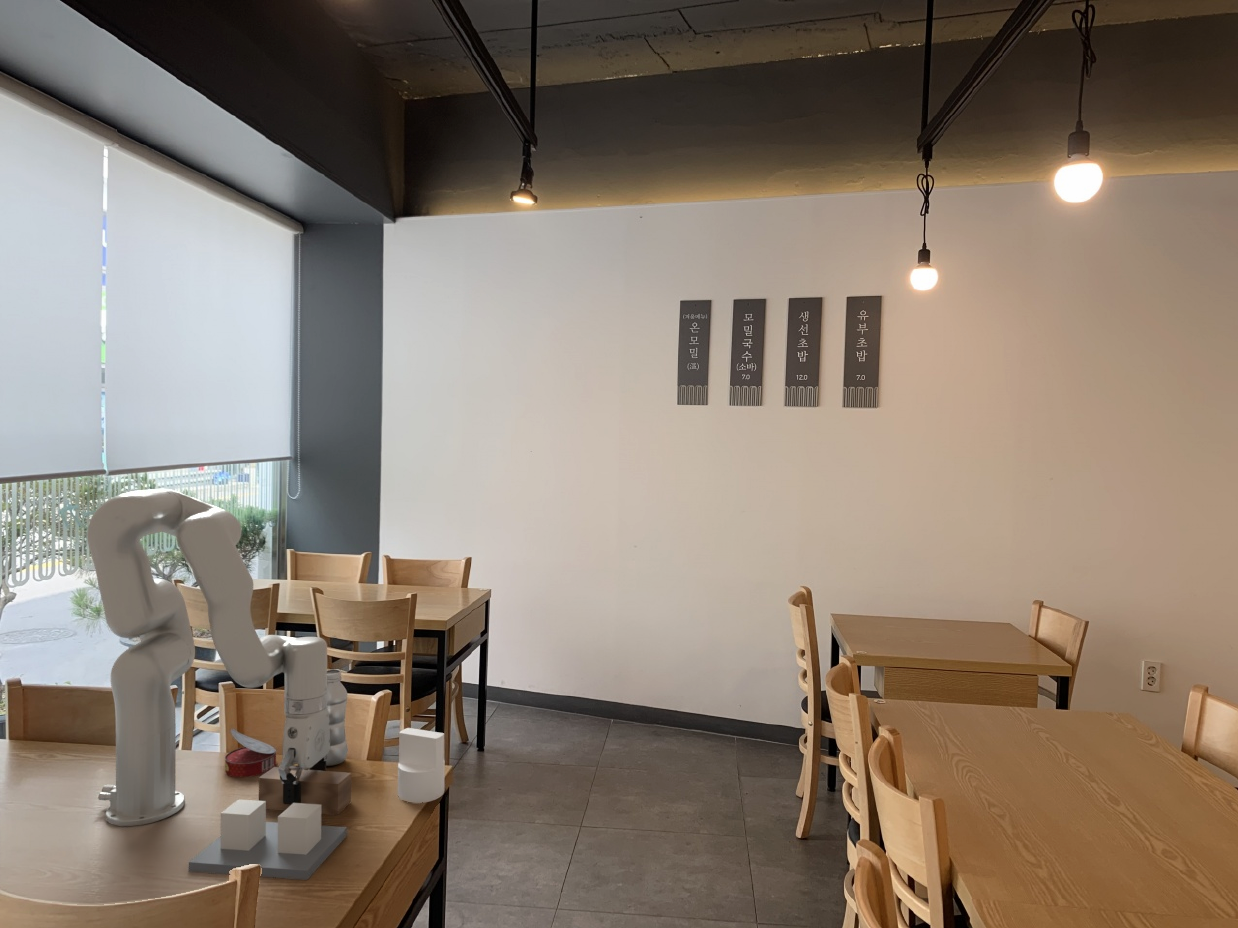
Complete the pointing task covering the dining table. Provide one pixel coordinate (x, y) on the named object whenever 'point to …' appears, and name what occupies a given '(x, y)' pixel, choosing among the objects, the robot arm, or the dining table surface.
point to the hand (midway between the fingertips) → (305, 791)
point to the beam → (309, 789)
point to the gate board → (270, 841)
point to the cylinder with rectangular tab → (420, 765)
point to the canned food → (249, 757)
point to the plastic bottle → (336, 717)
